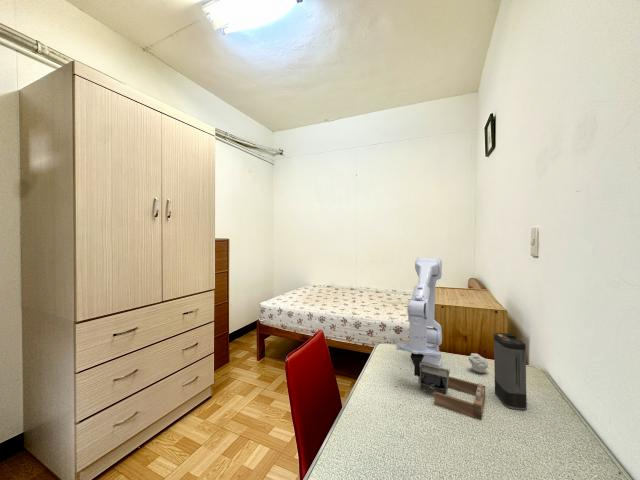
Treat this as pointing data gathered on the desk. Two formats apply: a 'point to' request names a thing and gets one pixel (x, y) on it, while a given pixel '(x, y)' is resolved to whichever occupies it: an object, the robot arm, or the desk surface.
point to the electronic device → (510, 370)
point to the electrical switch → (433, 378)
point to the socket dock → (461, 405)
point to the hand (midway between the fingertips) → (417, 375)
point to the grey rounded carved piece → (478, 363)
